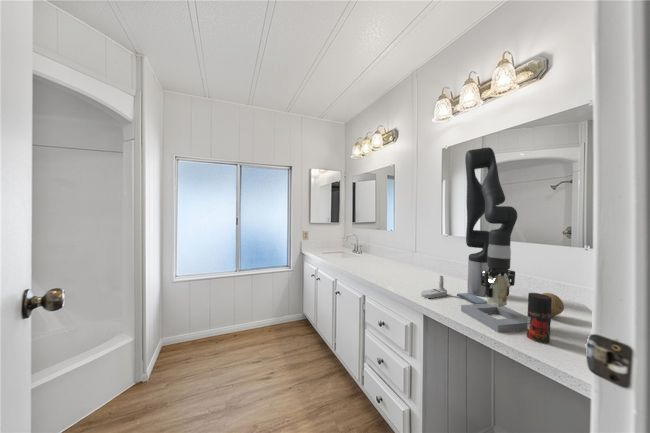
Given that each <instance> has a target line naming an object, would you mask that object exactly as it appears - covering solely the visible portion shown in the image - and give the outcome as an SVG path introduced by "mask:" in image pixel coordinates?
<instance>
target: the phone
mask: <svg viewBox="0 0 650 433" xmlns="http://www.w3.org/2000/svg"><path fill="white" fill-rule="evenodd" d="M456 296H457V297H459V298H461V299H462V300H465V301H467V302H468V303H470V304H486V303H487V300H485V299H483V298H481V297H478V295H473V294H470V293H469V292H464V293H463V292H462V293H457V294H456Z"/></svg>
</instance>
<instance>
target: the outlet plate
mask: <svg viewBox="0 0 650 433" xmlns="http://www.w3.org/2000/svg"><path fill="white" fill-rule="evenodd" d="M460 311H461V312H462V313H463V314H466V315H467V316H469V317H471V318H472V319H474V320H476V321H477V322H480V323H481V324H483V325H485V326H486V327H488V328H490V329H492V330H494V331H495V332H497V333H501V332H513V331H522V330H527V315H524V314H523V313H521V312H518V311H516V310H514V309H511V308H509V307H507V306H506V305H505V306H502V307H496V306H493V305H490V304H487V303H486V304H473V303H471V304H461V305H460ZM494 313H496V314H498V315H500V316H502V317H505V318H500V319H497V318H496V317H493V316H492V315H489V314H494Z"/></svg>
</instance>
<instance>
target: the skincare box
mask: <svg viewBox="0 0 650 433" xmlns="http://www.w3.org/2000/svg"><path fill="white" fill-rule="evenodd" d="M495 277H496V284H494V285H493V287H492V289H493V292H492V298H490V297H487V300H486V301H487V304H490V305H493V306H496V307H502V306H505V307H506V306H507V304H508V303H507V302H508V297H507V283H506V278H505V277H504V276H498V277H497V276H495ZM507 277H508V276H507ZM489 280H492V281H493V280H494V278H492V276H491V275H490V276H489ZM490 283H491V282H489V285H490Z"/></svg>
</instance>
